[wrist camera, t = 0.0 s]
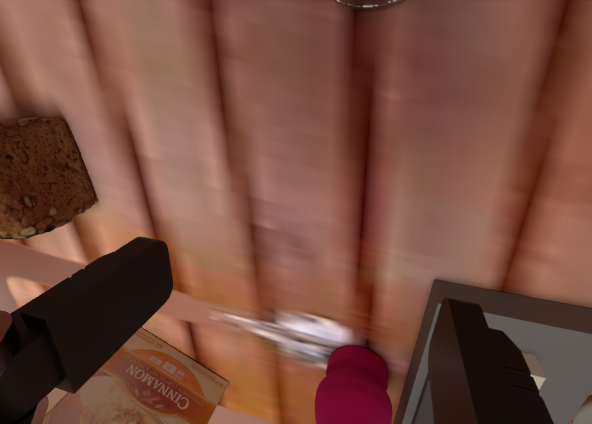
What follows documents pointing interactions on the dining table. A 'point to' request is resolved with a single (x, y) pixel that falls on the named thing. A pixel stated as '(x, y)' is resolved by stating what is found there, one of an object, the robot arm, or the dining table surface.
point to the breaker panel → (525, 335)
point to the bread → (40, 177)
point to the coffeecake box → (143, 388)
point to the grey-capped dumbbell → (584, 413)
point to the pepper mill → (354, 389)
